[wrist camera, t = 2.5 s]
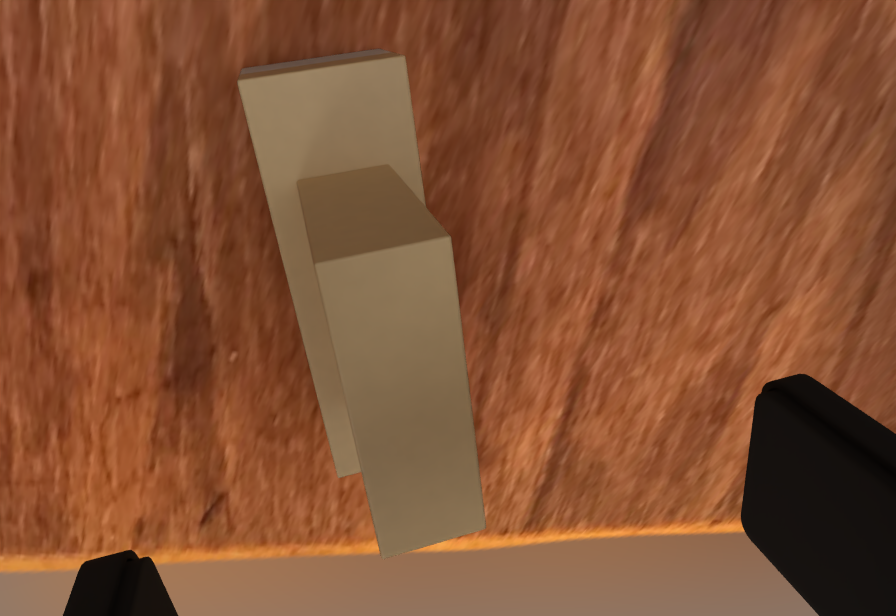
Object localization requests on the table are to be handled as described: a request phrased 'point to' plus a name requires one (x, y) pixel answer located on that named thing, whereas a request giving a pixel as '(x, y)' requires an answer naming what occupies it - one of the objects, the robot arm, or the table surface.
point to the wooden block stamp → (370, 287)
